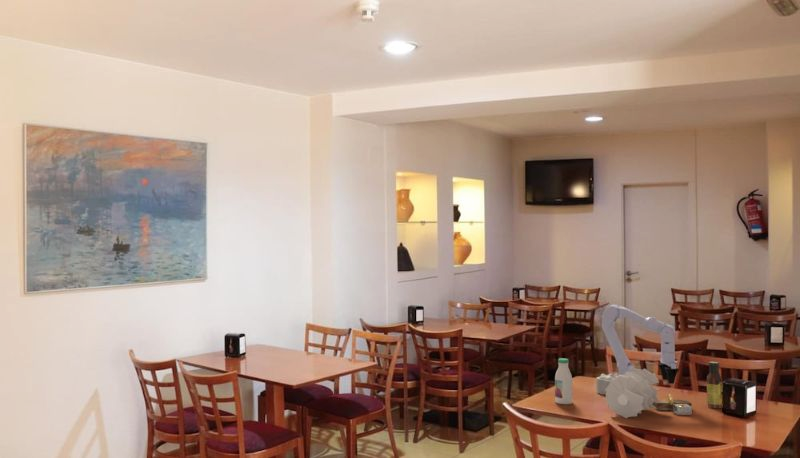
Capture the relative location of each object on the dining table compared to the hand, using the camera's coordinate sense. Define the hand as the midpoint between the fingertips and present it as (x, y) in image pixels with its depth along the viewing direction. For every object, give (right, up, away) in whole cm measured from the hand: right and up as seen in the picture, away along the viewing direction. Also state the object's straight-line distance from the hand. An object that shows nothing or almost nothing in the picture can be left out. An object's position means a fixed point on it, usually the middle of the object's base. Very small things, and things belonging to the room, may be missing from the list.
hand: (668, 381), depth 293 cm
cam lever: (-4, -6, -11) cm, 13 cm away
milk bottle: (-47, -11, +3) cm, 48 cm away
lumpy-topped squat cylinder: (-19, -11, +21) cm, 31 cm away
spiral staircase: (-22, -10, -15) cm, 28 cm away
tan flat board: (-2, -10, -8) cm, 13 cm away
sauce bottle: (+18, -10, -7) cm, 21 cm away
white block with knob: (-1, -10, -16) cm, 19 cm away
